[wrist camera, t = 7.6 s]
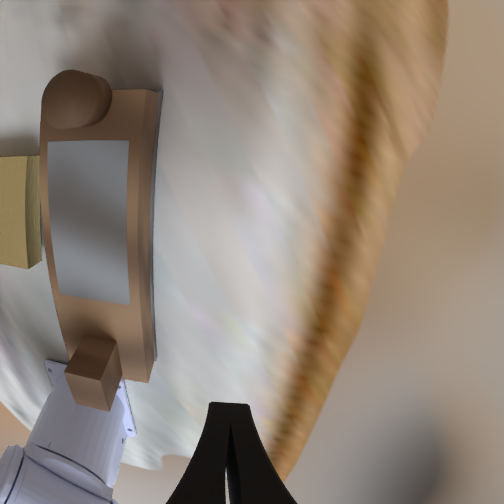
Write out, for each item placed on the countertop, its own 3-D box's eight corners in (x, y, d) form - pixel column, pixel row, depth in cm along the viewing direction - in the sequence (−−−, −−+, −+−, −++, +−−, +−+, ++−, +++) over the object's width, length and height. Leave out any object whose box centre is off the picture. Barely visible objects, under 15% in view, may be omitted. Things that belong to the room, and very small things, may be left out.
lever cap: (-16, 260, 15) (2, 251, 17) (28, 269, 16) (45, 258, 18) (-18, 158, 13) (1, 157, 15) (27, 155, 14) (46, 155, 16)
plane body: (157, 357, 22) (140, 423, 16) (84, 344, 21) (54, 403, 15) (164, 81, 14) (126, 59, 9) (69, 85, 14) (2, 78, 8)
